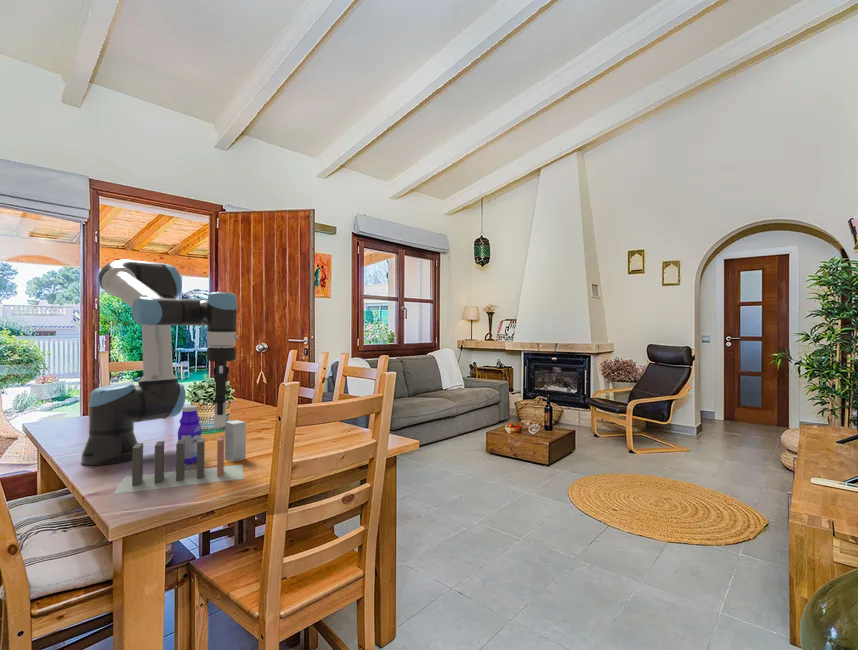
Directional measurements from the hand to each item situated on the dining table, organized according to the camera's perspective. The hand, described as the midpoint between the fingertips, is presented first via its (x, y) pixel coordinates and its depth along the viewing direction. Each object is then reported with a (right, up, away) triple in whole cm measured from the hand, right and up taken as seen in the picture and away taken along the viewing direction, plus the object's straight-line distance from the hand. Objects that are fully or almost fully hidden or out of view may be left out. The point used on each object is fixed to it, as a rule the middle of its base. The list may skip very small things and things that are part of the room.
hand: (220, 421), depth 128 cm
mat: (-8, -15, -4) cm, 18 cm away
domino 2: (-14, -15, -6) cm, 21 cm away
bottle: (-15, -15, +12) cm, 24 cm away
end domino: (0, -15, 0) cm, 15 cm away
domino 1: (-18, -15, -8) cm, 25 cm away
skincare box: (-2, -16, +15) cm, 22 cm away
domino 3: (-9, -15, -4) cm, 18 cm away
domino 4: (-4, -15, -2) cm, 15 cm away
